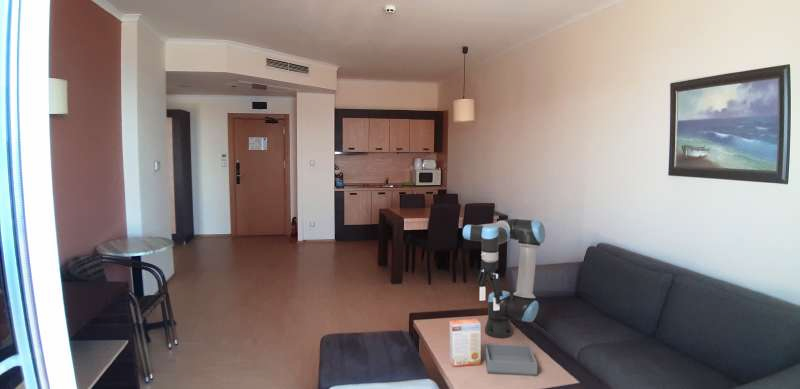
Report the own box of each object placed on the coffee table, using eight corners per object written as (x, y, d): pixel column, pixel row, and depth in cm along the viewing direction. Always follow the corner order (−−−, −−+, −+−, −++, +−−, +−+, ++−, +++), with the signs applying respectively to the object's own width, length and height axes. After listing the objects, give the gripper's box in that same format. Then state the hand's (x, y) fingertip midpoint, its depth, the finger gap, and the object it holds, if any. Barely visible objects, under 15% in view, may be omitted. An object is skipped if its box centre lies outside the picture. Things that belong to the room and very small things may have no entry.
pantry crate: (484, 355, 220) (484, 344, 219) (529, 357, 218) (530, 345, 217) (487, 373, 202) (487, 361, 202) (536, 376, 200) (537, 363, 199)
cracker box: (476, 359, 216) (477, 318, 214) (480, 365, 210) (481, 322, 208) (449, 361, 214) (449, 319, 212) (452, 367, 208) (452, 324, 206)
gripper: (470, 254, 213) (470, 297, 215) (495, 267, 189) (495, 315, 192) (484, 253, 215) (484, 295, 218) (511, 266, 192) (510, 313, 194)
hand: (489, 305), depth 205 cm, fingers open, 13 cm apart
